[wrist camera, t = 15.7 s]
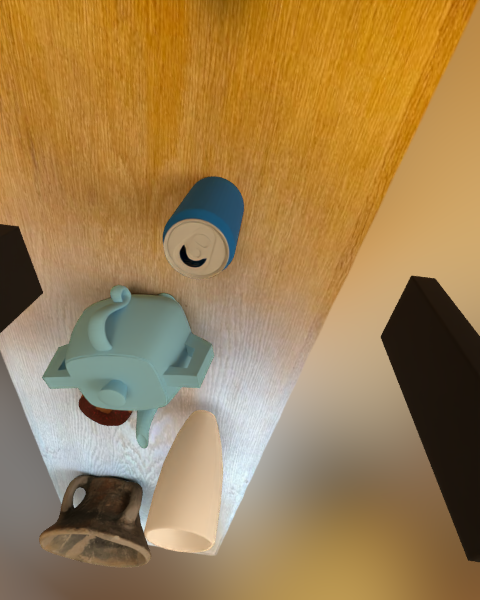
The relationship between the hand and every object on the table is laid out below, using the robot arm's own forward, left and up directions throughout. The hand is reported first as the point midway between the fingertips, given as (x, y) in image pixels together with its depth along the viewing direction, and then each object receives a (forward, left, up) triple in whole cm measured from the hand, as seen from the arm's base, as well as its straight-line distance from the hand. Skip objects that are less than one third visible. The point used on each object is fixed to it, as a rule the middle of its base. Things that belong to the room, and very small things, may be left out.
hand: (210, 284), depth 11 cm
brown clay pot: (+26, +89, -26) cm, 97 cm away
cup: (+3, +45, -26) cm, 52 cm away
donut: (+22, +47, -26) cm, 58 cm away
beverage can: (+3, +6, -26) cm, 27 cm away
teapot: (+12, +27, -26) cm, 40 cm away
